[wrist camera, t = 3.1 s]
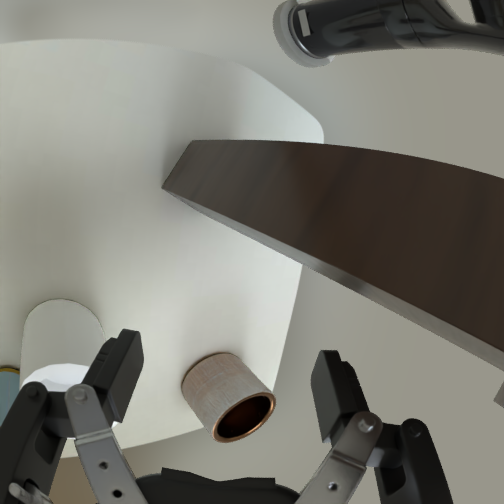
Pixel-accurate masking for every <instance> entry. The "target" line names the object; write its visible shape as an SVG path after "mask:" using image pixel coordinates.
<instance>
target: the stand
mask: <svg viewBox="0 0 504 504" xmlns="http://www.w3.org/2000/svg"><path fill="white" fill-rule="evenodd" d="M162 189H164V190H165V191H167V192H168V193H170V194H172V195H173V196H175V197H176V198H178V199H180V200H181V201H183V202H184V203H186V204H188V205H189V206H191V207H192V208H194V209H196V210H197V211H199V212H200V213H202V214H204V215H206V216H208V217H210V218H212V219H214V220H216V221H218V222H220V223H222V224H224V225H226V226H228V227H230V228H232V229H234V230H236V231H238V232H240V233H242V234H244V235H246V236H248V237H250V238H252V239H254V240H256V241H257V242H259V243H261V244H263V245H265V246H267V247H269V248H271V249H273V250H275V251H277V252H279V253H281V254H283V255H285V256H287V257H289V258H291V259H293V260H295V261H297V262H299V263H301V264H303V265H305V266H307V267H309V268H310V269H312V270H314V271H316V272H318V273H320V274H322V275H324V276H326V277H328V278H330V279H332V280H334V281H336V282H338V283H340V284H342V285H343V286H345V287H347V288H349V289H351V290H353V291H355V292H357V293H359V294H361V295H363V296H365V297H367V298H369V299H370V300H372V301H374V302H376V303H378V304H380V305H382V306H384V307H385V308H387V309H389V310H391V311H393V312H395V313H397V314H399V315H401V316H403V317H404V318H407V319H408V320H410V321H412V322H414V323H416V324H418V325H420V326H421V327H423V328H425V329H427V330H429V331H431V332H433V333H435V334H436V335H438V336H440V337H442V338H444V339H446V340H448V341H449V342H451V343H453V344H455V345H457V346H459V347H461V348H462V349H464V350H466V351H468V352H470V353H472V354H473V355H475V356H477V357H479V358H481V359H483V360H484V361H487V362H488V363H490V364H492V365H494V366H495V367H497V368H499V369H501V370H503V371H504V179H503V178H500V177H496V176H493V175H489V174H486V173H482V172H479V171H475V170H472V169H468V168H464V167H460V166H456V165H452V164H447V163H443V162H438V161H434V160H429V159H424V158H419V157H414V156H409V155H403V154H398V153H392V152H385V151H379V150H371V149H364V148H357V147H348V146H340V145H329V144H319V143H306V142H291V141H270V140H194V141H191V143H190V144H189V146H188V147H187V149H186V150H185V152H184V153H183V155H182V156H181V158H180V159H179V161H178V163H177V164H176V166H175V167H174V169H173V170H172V172H171V173H170V175H169V177H168V178H167V180H166V181H165V183H164V185H163V186H162ZM494 402H496V403H497V404H499V405H500V406H502V407H503V408H504V382H503V384H502V386H501V388H500V390H499V391H498V393H497V395H496V397H495V398H494Z"/></svg>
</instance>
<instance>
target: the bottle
mask: <svg viewBox="0 0 504 504" xmlns="http://www.w3.org/2000/svg"><path fill="white" fill-rule="evenodd" d="M19 387H20V371H18V370H15V369H12V368H3V369H0V427H1V425H2V423H3V421H4V419H5V417H6V415H7V413H8V411H9V409H10V408H11V406H12V404H13V402H14V400H15V398H16V397H17V395H18V393H19Z"/></svg>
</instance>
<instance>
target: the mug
mask: <svg viewBox="0 0 504 504" xmlns="http://www.w3.org/2000/svg"><path fill="white" fill-rule="evenodd" d="M105 342H106V339H105V336H104V333H103V329H102V327H101V325H100V323H99V321H98V319H97V317H96V316H95V315H94V314H93V313H92V312H91V311H90V310H89V309H88V308H86V307H84V306H83V305H81V304H79V303H77V302H74V301H70V300H65V299H56V300H49V301H46V302H44V303H41V304H39V305H38V306H36V307H35V308H34V309H33V310H32V311H31V312H30V313H29V315H28V317H27V319H26V321H25V323H24V331H23V339H22V349H21V362H20V387H19V391H20V390H21V388H22V387H23V386H24V385H25V384H26V383H28V382H32V381H38V382H41V383H42V384H44V385H45V387H46V388H47V390H48V391H58V392H66V391H67V390H68V389H69V388H70V387H71V386H73V385H76V384H81V382H82V380H83V378H84V377H85V375H86V373H87V371H88V369H89V368H90V366H91V364H92V362H93V361H94V360H95V357H96V355H97V354H98V353H99V350H100V349H101V347H102V345H103V344H104V343H105ZM117 423H118V422H115V421H114V422H113V425H112V427H111V428H113V427H114V426H116V424H117ZM70 439H76V438H70Z"/></svg>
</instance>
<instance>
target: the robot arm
mask: <svg viewBox="0 0 504 504" xmlns="http://www.w3.org/2000/svg"><path fill="white" fill-rule="evenodd" d="M469 3H470V6H471V9H472V13H473V17H474V20H475V23H474V24H470V23H466V22H464V21H463V20H462V19H461V18H460V17H459V16H458V15H457V14H456V13H455V12H454V11H453V9H452V8H451V7H450V5H449V4H448V3H447V1H446V0H311V1H309V2H306V3H301V4H298V5H296V6H294V7H293V8H292V9H291V11H290V13H289V16H288V26H289V31H290V33H291V36H292V38H293V40H294V41H295V43H296V44H297V46H298V47H299V48H300V49H301V50H302V51H303V52H304V53H305V54H307V55H309V56H311V57H313V58H318V59H319V58H326V57H329V56H334V55H342V54H348V53H357V52H366V51H377V50H392V49H412V48H413V49H415V48H431V49H432V48H434V49H443V48H444V49H445V48H446V49H463V50H474V51H480V52H486V53H492V54H497V55H502V56H504V0H469ZM143 362H144V355H143V349H142V342H141V335H140V332H139V331H134V330H128V329H122V331H121V332H120V334H119V336H118V338H117V339H116V338H110V339H109V340H108V341H106V342H105V343H104V344H103V345H102V347H101V349H100V350H99V353H98V354H97V355H96V357H95V360H94V361H93V362H92V364H91V366H90V368H89V369H88V371H87V373H86V375H85V377H84V378H83V380H82V382H81V384H76V385H73V386H71V387H70V388H69V389H68V390H67V391H66V392H58V391H48V390H47V388H46V387H45V385H44V384H42V383H41V382H38V381H32V382H28V383H26V384H25V385H24V386H23V387H22V388H21V390H20V391H19V393H18V395H17V397H16V398H15V400H14V402H13V404H12V406H11V408H10V409H9V411H8V413H7V415H6V417H5V419H4V421H3V423H2V425H1V427H0V504H53V502H52V501H51V500H50V498H49V497H48V496H49V492H50V489H51V485H52V482H53V479H54V475H55V472H56V469H57V466H58V463H59V460H60V457H61V454H62V451H63V448H64V445H65V443H66V440H67V438H76V440H74V443H75V447H76V450H77V453H78V456H79V458H80V461H81V464H82V466H83V469H84V471H85V474H86V476H87V479H88V481H89V484H90V486H91V488H92V491H93V493H94V495H95V497H96V499H97V501H98V503H96V504H348V502H349V500H350V499H351V497H352V495H353V494H354V492H355V490H356V488H357V487H358V485H359V483H360V481H361V479H362V477H363V475H364V474H365V471H366V469H367V468H366V467H365V466H371V467H374V471H375V476H376V481H377V486H378V491H379V496H380V501H381V504H453V500H452V497H451V494H450V490H449V487H448V484H447V481H446V478H445V475H444V472H443V469H442V466H441V463H440V460H439V457H438V454H437V452H436V449H435V446H434V443H433V441H432V438H431V436H430V433H429V430H428V428H427V426H426V425H425V424H424V423H423V422H422V421H420V420H418V419H414V418H411V419H407V420H405V421H404V422H403V423H402V424H401V425H394V424H387V423H383V422H382V421H381V419H380V418H379V417H378V416H377V415H375V414H374V413H371V412H370V411H369V408H368V405H367V402H366V400H365V397H364V394H363V392H362V389H361V386H360V383H359V381H358V379H357V376H356V373H355V370H354V369H353V367H352V366H351V365H350V364H349V363H348V362H347V361H345V362H344V361H341V358H340V355H339V353H338V351H337V350H321V351H320V352H319V355H318V357H317V360H316V363H315V366H314V369H313V372H312V375H311V388H312V392H313V397H314V402H315V407H316V412H317V417H318V422H319V427H320V432H321V437H322V442H323V443H327V442H331V445H332V448H331V450H330V451H329V453H328V454H327V456H326V457H325V459H324V461H323V462H322V464H321V465H320V466H319V468H318V469H317V471H316V472H315V473H314V475H313V476H312V477H311V479H310V480H309V482H308V483H307V484H306V485H305V486H304V488H303V489H302V490H301V492H300V493H297V492H296V491H294V490H292V489H290V488H288V487H285V486H282V485H278V484H275V478H251V477H247V478H241V479H234V480H227V481H214V480H211V479H208V478H205V477H202V476H199V475H196V474H194V473H191V472H186V471H179V470H174V469H168V468H163V467H162V471H161V473H156V474H150V475H145V476H142V477H139V478H137V479H136V477H135V475H134V473H133V472H132V470H131V468H130V466H129V464H128V462H127V461H126V459H125V457H124V455H123V453H122V450H121V448H120V446H119V444H118V442H117V440H116V438H115V435H114V433H113V431H112V429H111V427H112V425H113V422H114V421H115V422H119V423H122V421H123V419H124V416H125V413H126V410H127V407H128V405H129V402H130V399H131V397H132V394H133V391H134V389H135V386H136V383H137V381H138V378H139V376H140V373H141V371H142V368H143Z"/></svg>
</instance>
